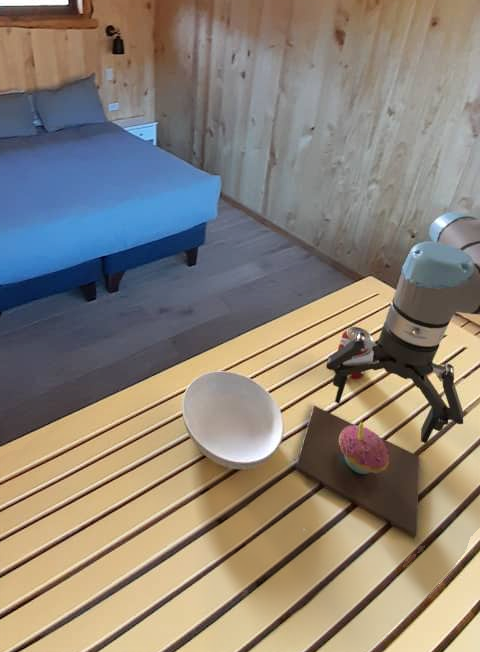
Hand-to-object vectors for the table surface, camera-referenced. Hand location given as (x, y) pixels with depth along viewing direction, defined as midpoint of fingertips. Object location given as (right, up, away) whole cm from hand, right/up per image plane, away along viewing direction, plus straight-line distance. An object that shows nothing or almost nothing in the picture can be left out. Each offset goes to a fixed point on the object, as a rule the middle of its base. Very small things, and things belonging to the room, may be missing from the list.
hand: (378, 416), depth 74 cm
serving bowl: (-24, -11, +14) cm, 30 cm away
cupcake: (0, -13, +7) cm, 15 cm away
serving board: (0, -14, +7) cm, 16 cm away
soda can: (+10, -4, +27) cm, 29 cm away
